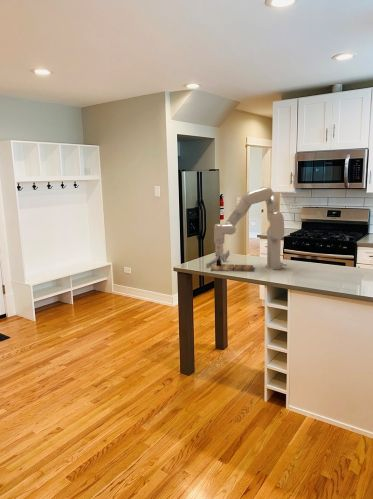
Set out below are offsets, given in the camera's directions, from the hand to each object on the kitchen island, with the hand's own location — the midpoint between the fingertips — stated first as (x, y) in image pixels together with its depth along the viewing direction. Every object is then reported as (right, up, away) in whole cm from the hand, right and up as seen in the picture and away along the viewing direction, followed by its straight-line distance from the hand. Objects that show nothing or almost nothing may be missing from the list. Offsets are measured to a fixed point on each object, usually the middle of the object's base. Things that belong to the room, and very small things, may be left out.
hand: (218, 265), depth 278 cm
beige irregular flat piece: (+3, -2, 0) cm, 4 cm away
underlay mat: (+10, -3, -1) cm, 11 cm away
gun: (+1, 0, +17) cm, 17 cm away
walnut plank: (+18, -3, -3) cm, 18 cm away
